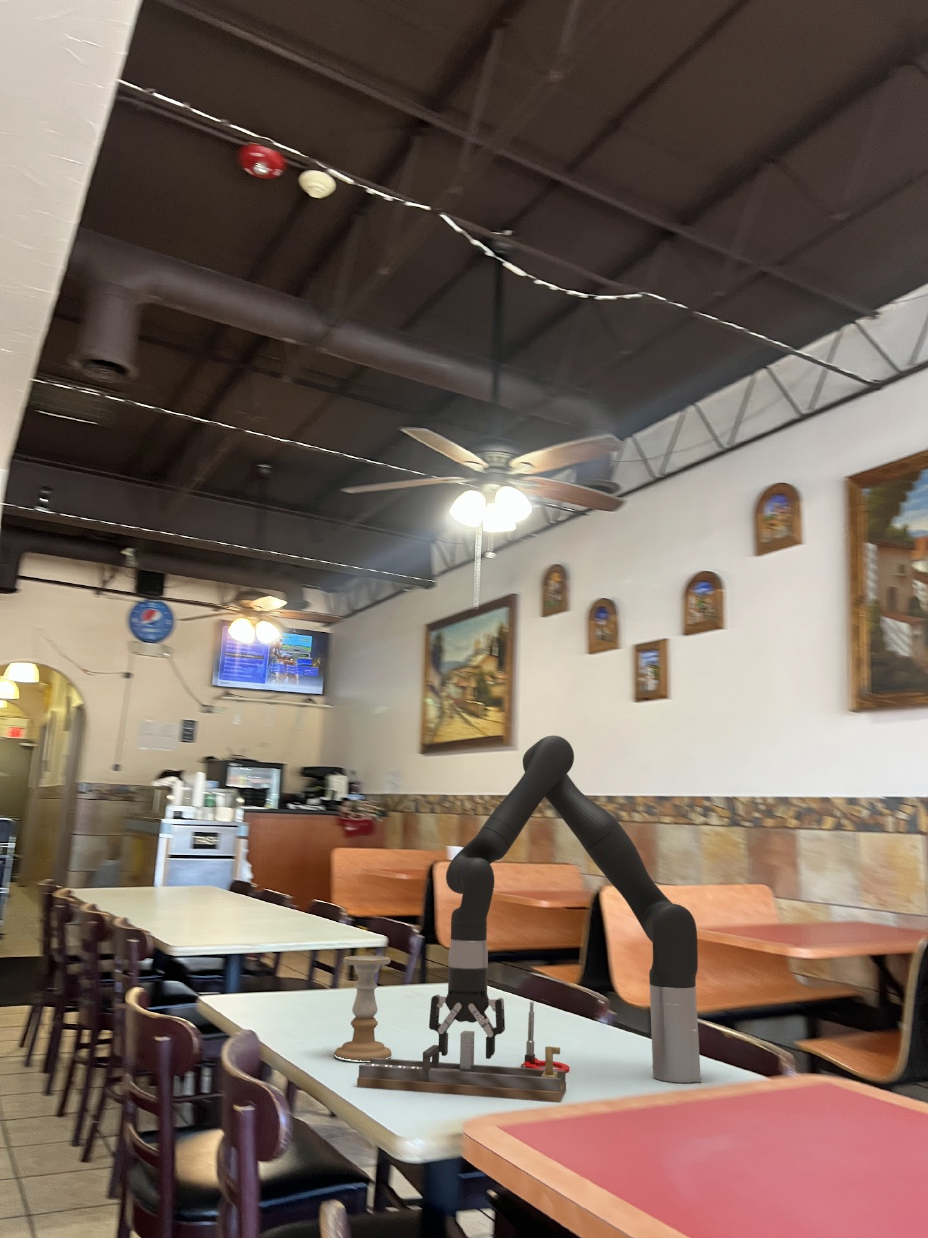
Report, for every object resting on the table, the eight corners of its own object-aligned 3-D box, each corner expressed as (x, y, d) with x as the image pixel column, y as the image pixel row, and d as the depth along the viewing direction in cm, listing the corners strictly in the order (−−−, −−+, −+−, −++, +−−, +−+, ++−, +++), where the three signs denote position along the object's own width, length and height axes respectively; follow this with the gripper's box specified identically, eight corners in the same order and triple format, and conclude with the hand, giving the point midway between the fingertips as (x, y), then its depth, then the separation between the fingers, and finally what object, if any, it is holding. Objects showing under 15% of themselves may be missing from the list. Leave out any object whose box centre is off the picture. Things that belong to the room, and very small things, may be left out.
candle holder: (402, 1056, 194) (406, 957, 199) (366, 1066, 184) (370, 962, 189) (359, 1049, 200) (363, 954, 206) (322, 1058, 191) (327, 958, 196)
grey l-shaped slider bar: (473, 1077, 167) (474, 1031, 169) (470, 1081, 164) (470, 1034, 167) (365, 1070, 172) (367, 1025, 174) (360, 1073, 169) (362, 1027, 171)
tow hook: (574, 1071, 185) (533, 1064, 189) (576, 1004, 188) (535, 998, 192) (561, 1079, 177) (518, 1072, 181) (563, 1009, 181) (521, 1003, 184)
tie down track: (566, 1090, 166) (565, 1043, 168) (560, 1102, 157) (559, 1053, 160) (372, 1076, 174) (374, 1032, 176) (356, 1087, 166) (358, 1040, 168)
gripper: (508, 964, 174) (507, 1055, 169) (437, 961, 177) (435, 1050, 172) (500, 968, 166) (499, 1063, 162) (427, 965, 170) (424, 1058, 165)
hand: (466, 1056), depth 167 cm, fingers open, 8 cm apart
